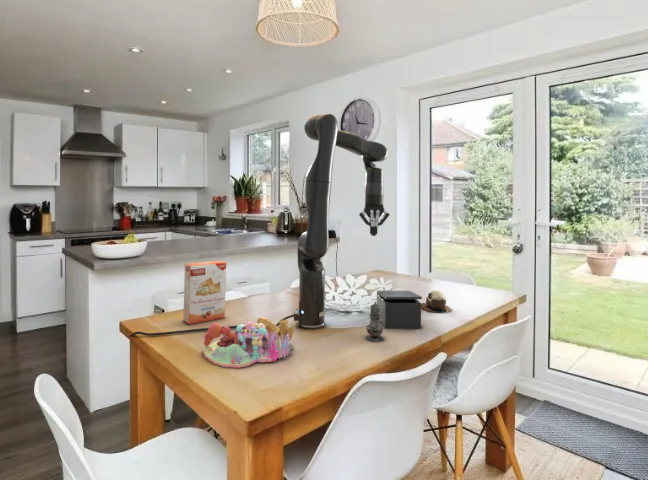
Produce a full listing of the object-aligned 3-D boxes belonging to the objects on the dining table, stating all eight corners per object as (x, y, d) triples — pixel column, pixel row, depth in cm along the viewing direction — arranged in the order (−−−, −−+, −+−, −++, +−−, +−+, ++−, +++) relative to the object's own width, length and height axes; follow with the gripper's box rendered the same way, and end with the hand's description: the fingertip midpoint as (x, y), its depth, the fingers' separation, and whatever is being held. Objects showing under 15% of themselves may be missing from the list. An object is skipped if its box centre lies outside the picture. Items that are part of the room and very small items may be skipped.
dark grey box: (420, 328, 145) (421, 303, 145) (385, 328, 144) (385, 303, 144) (409, 315, 159) (409, 292, 159) (376, 315, 159) (376, 292, 159)
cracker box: (189, 325, 144) (190, 265, 144) (182, 321, 149) (183, 263, 149) (225, 318, 153) (226, 261, 153) (218, 314, 158) (219, 259, 158)
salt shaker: (383, 342, 130) (383, 304, 130) (364, 340, 132) (365, 303, 132) (384, 336, 136) (384, 299, 136) (366, 334, 137) (367, 298, 137)
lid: (422, 299, 144) (421, 296, 144) (385, 299, 143) (385, 296, 143) (409, 292, 159) (409, 290, 159) (376, 292, 159) (376, 290, 159)
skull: (412, 302, 174) (426, 284, 176) (428, 318, 176) (442, 299, 178) (427, 309, 162) (442, 289, 164) (444, 326, 164) (459, 305, 166)
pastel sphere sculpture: (251, 331, 139) (252, 304, 139) (307, 347, 125) (308, 317, 125) (190, 354, 118) (190, 322, 118) (248, 377, 105) (249, 340, 105)
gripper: (359, 193, 164) (359, 236, 164) (392, 193, 165) (391, 236, 165) (356, 193, 172) (356, 234, 172) (388, 193, 172) (387, 234, 172)
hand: (373, 235), depth 168 cm, fingers closed
